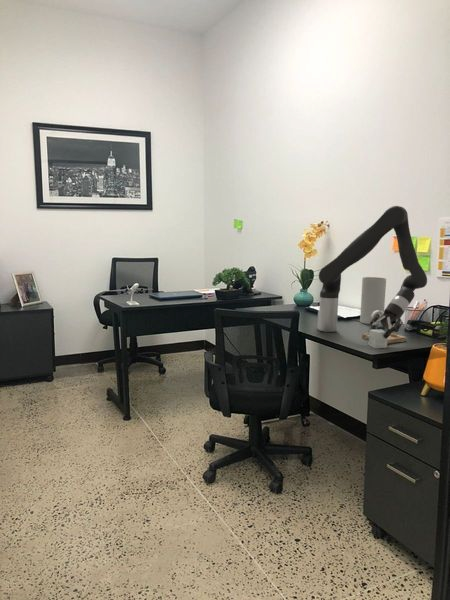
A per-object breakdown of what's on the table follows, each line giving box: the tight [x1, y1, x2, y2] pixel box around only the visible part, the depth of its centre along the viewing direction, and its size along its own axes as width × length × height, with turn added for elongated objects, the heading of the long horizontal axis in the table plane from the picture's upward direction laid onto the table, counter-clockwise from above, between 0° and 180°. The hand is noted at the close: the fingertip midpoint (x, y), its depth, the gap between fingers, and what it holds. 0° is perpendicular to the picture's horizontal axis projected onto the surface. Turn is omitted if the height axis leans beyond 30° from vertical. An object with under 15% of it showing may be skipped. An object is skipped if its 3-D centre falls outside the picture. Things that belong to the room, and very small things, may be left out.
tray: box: [361, 332, 407, 345], centre depth 228 cm, size 14×14×2 cm
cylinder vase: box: [359, 276, 387, 326], centre depth 267 cm, size 12×12×25 cm
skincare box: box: [368, 329, 388, 349], centre depth 214 cm, size 6×6×7 cm
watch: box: [370, 310, 386, 331], centre depth 245 cm, size 6×8×11 cm
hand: (377, 335), depth 214 cm, fingers open, 8 cm apart
